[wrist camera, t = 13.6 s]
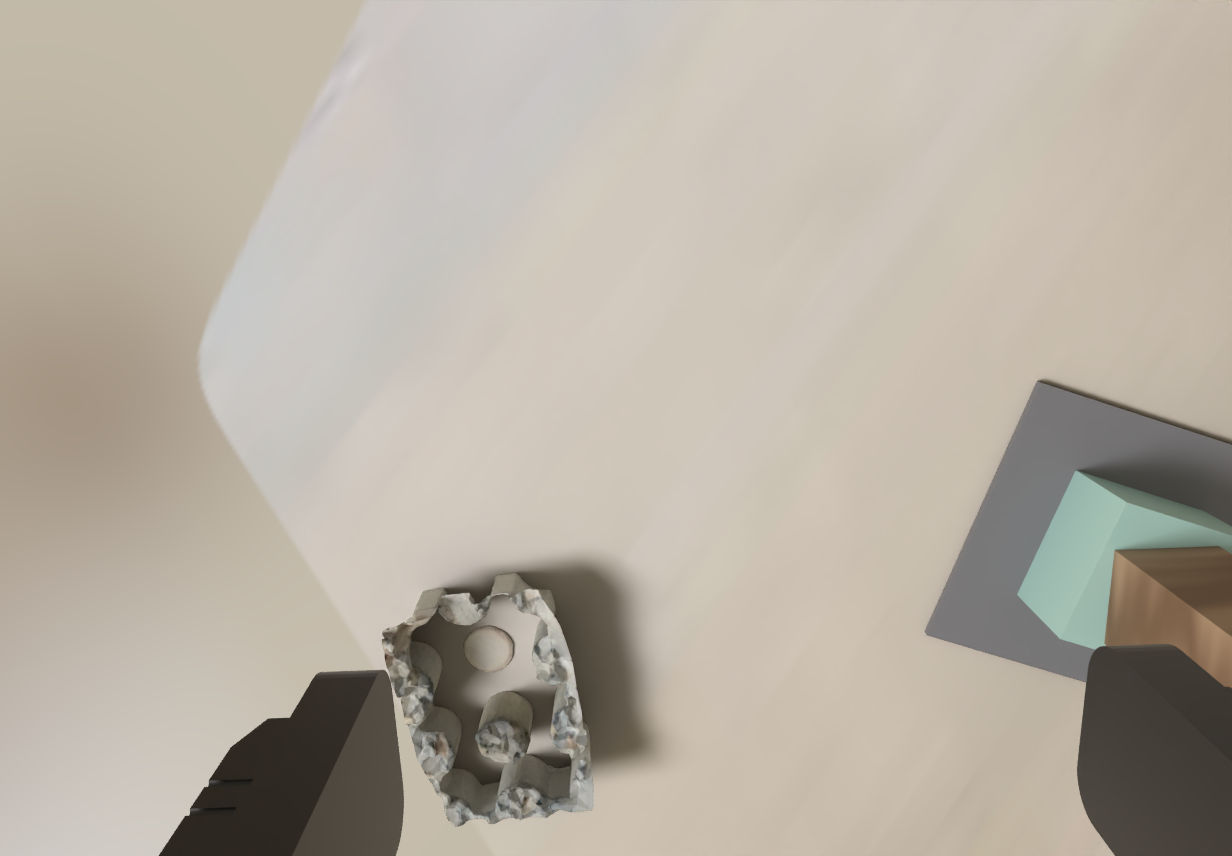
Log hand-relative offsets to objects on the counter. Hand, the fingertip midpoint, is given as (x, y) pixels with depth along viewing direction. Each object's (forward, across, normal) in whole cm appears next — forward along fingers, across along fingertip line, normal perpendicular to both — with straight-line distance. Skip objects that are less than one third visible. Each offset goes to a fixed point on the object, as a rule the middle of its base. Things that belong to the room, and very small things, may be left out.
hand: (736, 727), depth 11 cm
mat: (+28, -20, +10) cm, 36 cm away
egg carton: (+28, +7, +16) cm, 33 cm away
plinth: (+28, -20, +10) cm, 35 cm away
